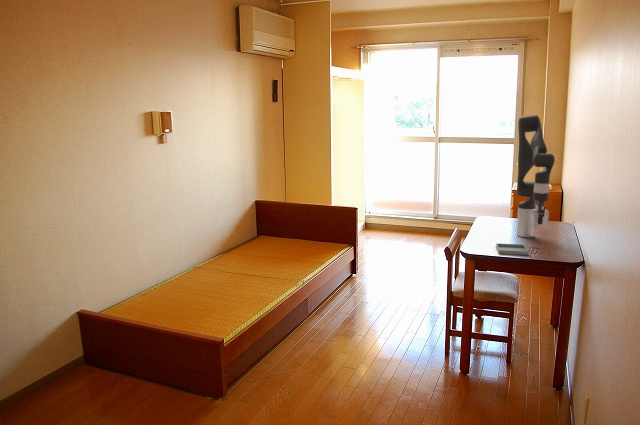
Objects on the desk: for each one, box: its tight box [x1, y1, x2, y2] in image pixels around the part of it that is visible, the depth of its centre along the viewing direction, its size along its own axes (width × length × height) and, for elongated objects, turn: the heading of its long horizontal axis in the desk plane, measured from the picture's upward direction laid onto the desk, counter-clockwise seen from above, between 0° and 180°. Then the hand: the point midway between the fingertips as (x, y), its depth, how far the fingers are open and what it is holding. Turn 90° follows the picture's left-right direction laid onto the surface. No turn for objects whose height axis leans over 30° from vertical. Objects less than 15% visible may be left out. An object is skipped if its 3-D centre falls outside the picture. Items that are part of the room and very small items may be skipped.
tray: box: [495, 242, 530, 257], centre depth 286 cm, size 15×15×2 cm
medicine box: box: [530, 208, 550, 228], centre depth 280 cm, size 8×4×9 cm, turn 93°
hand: (538, 222), depth 280 cm, fingers closed on medicine box, 5 cm apart
